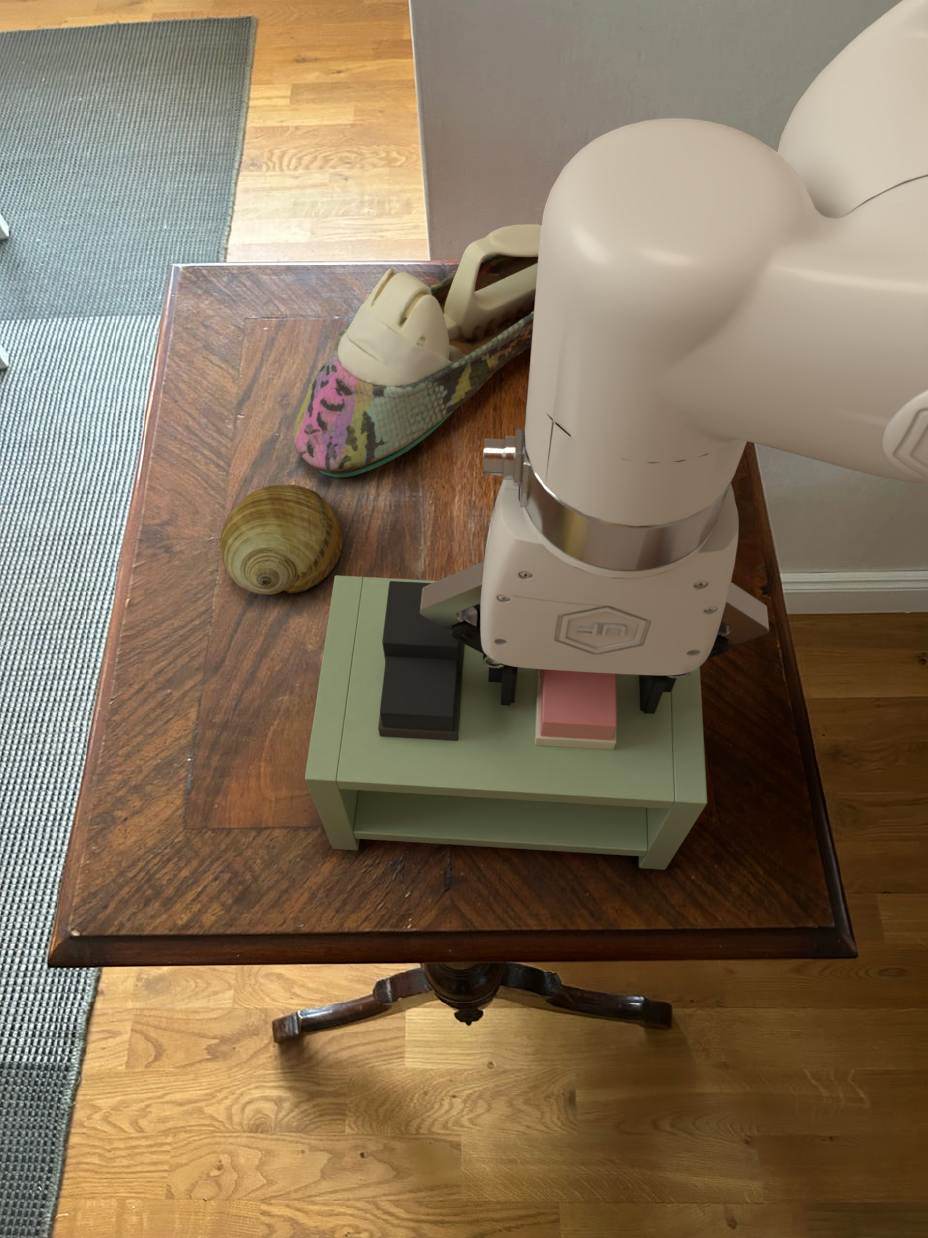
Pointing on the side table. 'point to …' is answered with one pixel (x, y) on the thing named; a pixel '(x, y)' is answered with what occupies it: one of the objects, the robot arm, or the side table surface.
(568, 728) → the pink stepped block
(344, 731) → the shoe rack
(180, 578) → the side table surface
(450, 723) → the black stepped block
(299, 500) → the seashell
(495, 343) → the ballet flat
